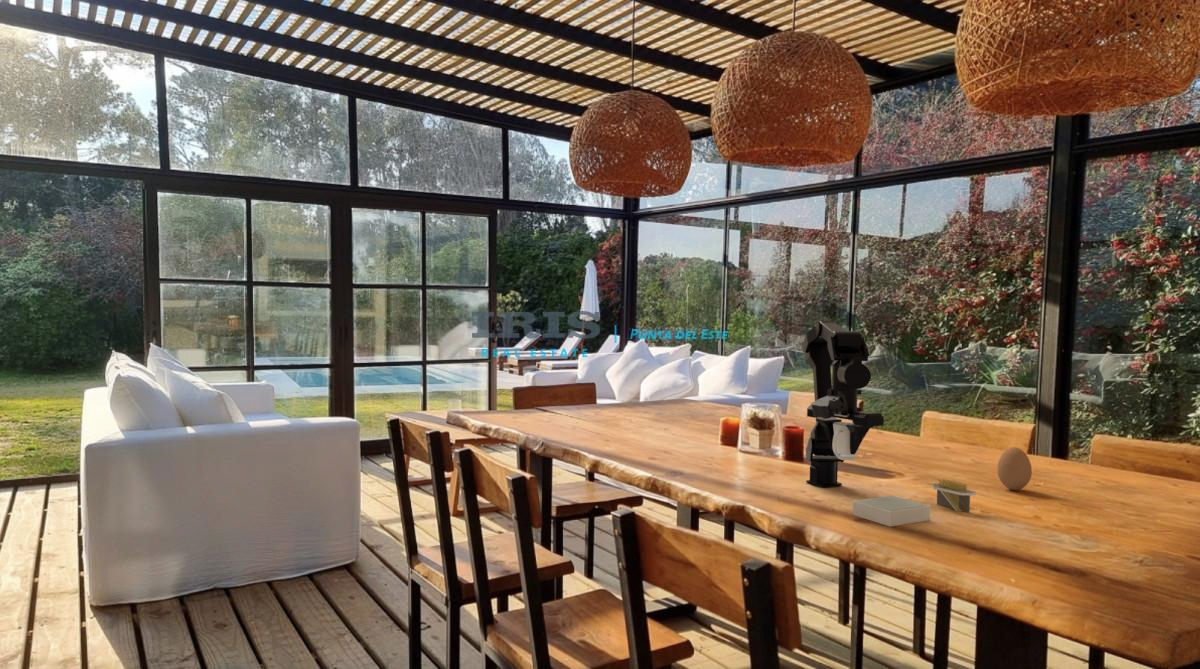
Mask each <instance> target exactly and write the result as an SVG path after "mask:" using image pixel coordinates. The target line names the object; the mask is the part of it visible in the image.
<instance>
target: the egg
mask: <svg viewBox="0 0 1200 669" xmlns="http://www.w3.org/2000/svg"><path fill="white" fill-rule="evenodd" d="M996 469H997V476H998V478H999V481H1000V482H1001V483H1002V485H1003V486H1004V487H1005V488H1007V489H1009V490H1011V491H1020V490H1022V489H1024V488H1025V487H1027V485H1028V484H1029V483H1030V481H1031V479H1032V475H1033V474H1032V473H1033V472H1032V471H1033V470H1032V463H1031V461H1030V459H1029V456H1028V455H1027V453H1026V452H1025V451H1024V450H1023V449H1021V448H1019V447H1016V446H1013V447H1009V448H1007V449H1005V450H1004V451H1003V453H1001V456H1000V458H999V459H998V462H997V468H996Z"/></svg>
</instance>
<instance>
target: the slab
mask: <svg viewBox="0 0 1200 669" xmlns="http://www.w3.org/2000/svg"><path fill="white" fill-rule="evenodd" d="M852 516H855V517H859V518H862V519H865V520H868V521H871V522H874V523H878V524H881V525H883V526H887V527H894V526H901V525H907V524H914V523H920V522H927V521H930V520H931V505H929V504H924V503H921V502H917V501H913V500H910V499H906V498H903V497H899V496H895V495H887V496H878V497H871V498H864V499H857V500H852Z"/></svg>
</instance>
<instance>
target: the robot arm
mask: <svg viewBox="0 0 1200 669" xmlns="http://www.w3.org/2000/svg"><path fill="white" fill-rule="evenodd" d="M802 350H803V353H805V361H806V362H807V364H808V365H809V366H810V368H811V369H812V376H813V394H814V395H813V396H814V401H813V402H811V404H809V406H808V407H807V409H806V417H809V418H815V425H814V426H813V427H812V430H811V432H810V437H809V439H808V442H807V445H806V448H805V457H806V460H808V461H809V462H810V466H809V479H808V480H807V479H806V481H805V482H806V483H807V484H811V485H814V486H817V487H821V488H828V487H829V488H830V487H837V486H842V483H841V482H839V481H838V468H839V467H838V466H839V465H838V464H839V462H840V463H844V461H845V460H840V459H838V458H837V457H836V455H835V454H834V452H833V448H832V443H833V436H834V429H833V423H834V422H843V420H848V421H852V425H846V426H847V428H848V429H849V431H850V453H851V454H855V453H856V451H857V449H858V450H859V448H860V446H861V444H862V441H863V440H864V438H865V437H866V435H867V433H869V431H870V429H873V428H874V427H878V426H879V427H881V426H883V427H884V425H885V417H884V415H883V414H882V413H881V412H879V411H878V412H877V411H871V410H868V411H864V410H863V411H862V407H859V406H858V396H859V395H862V389H864V388H865V387H866V386H868V384H870V381H871V378H872V374H871V370H870V368H868V366H867V365H865V364H863V362H868V361H869V357H870V356H869V355H870V353H869V349H868V344H867V341H866V340H865V338H864V336H863V335H862V333H861V332H860V331H858V330H857V331H855V330H846V329H845V328H844V327H842V326H840V324H839V323H838V321H835V320H819V321H816V324H815V326H814V327H812V329H809V331H807V332H806V333H805V336H804V339H803V343H802ZM857 452H858V451H857ZM839 455H840V454H839Z"/></svg>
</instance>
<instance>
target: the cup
mask: <svg viewBox="0 0 1200 669" xmlns="http://www.w3.org/2000/svg"><path fill="white" fill-rule="evenodd" d="M852 422H853V421H852ZM852 422H850V421H842V422H834V423H833V429H834V436H833V443H832V448H833V452H834V454H835V455H836V457H837V458H838V459H840V460H844V461H856V460H857V454H858V451H859V448H858V449H857V451H856V453H855V454H851V453H850V431H849V429H848V428H847V426H846V425H852ZM839 454H840V455H839Z"/></svg>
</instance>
